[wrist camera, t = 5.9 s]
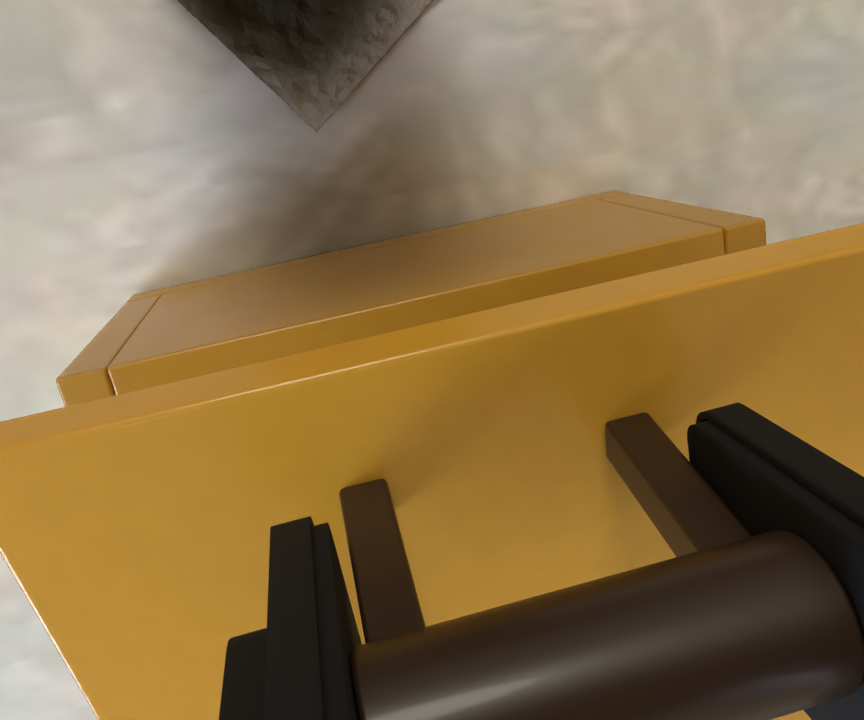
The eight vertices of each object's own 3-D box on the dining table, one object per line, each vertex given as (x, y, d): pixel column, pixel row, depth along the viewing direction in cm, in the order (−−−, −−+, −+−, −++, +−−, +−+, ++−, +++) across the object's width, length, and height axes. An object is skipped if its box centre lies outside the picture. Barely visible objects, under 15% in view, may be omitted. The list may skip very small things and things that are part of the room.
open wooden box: (132, 294, 21) (53, 379, 14) (616, 189, 22) (766, 217, 15) (277, 750, 26) (273, 983, 19) (664, 638, 27) (795, 814, 20)
